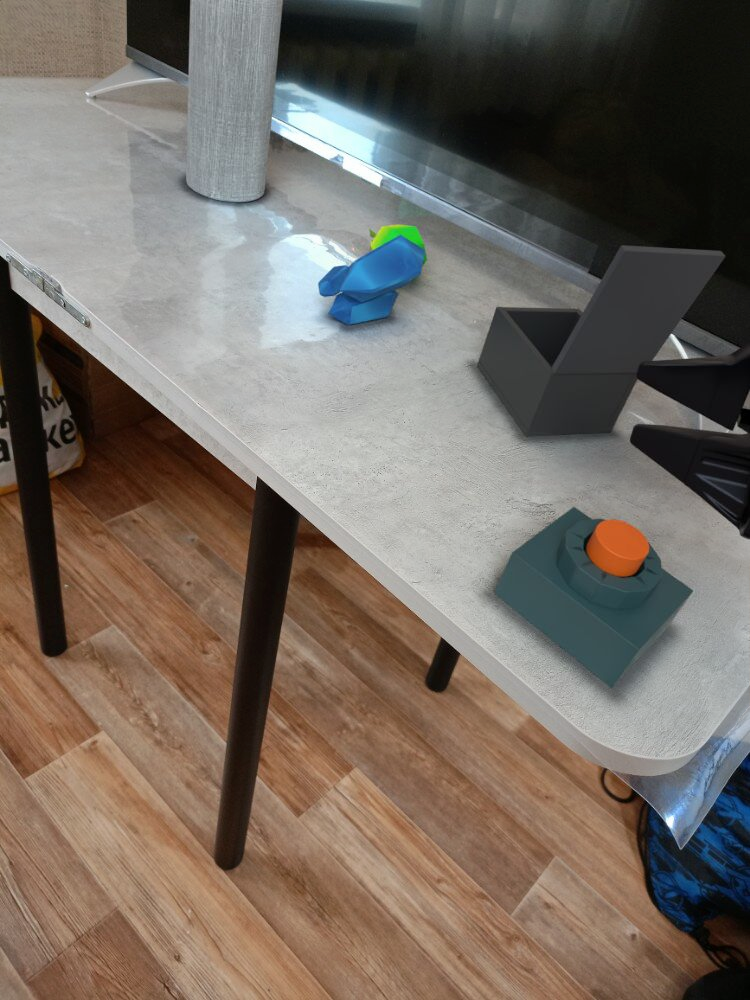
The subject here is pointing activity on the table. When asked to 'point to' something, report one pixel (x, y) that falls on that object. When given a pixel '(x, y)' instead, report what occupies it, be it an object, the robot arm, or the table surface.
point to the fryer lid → (636, 308)
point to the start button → (617, 548)
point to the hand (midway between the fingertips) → (635, 398)
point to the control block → (590, 597)
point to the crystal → (372, 281)
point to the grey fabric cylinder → (231, 96)
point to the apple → (393, 231)
